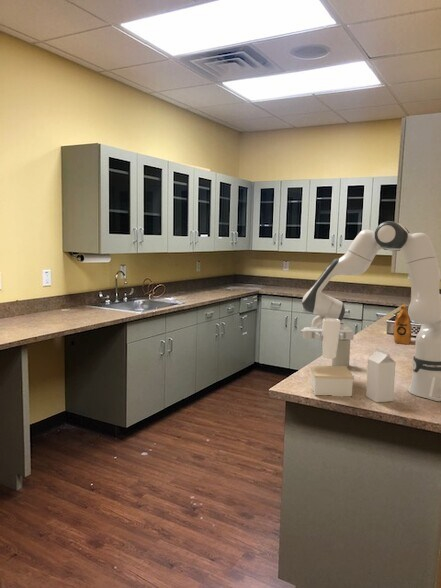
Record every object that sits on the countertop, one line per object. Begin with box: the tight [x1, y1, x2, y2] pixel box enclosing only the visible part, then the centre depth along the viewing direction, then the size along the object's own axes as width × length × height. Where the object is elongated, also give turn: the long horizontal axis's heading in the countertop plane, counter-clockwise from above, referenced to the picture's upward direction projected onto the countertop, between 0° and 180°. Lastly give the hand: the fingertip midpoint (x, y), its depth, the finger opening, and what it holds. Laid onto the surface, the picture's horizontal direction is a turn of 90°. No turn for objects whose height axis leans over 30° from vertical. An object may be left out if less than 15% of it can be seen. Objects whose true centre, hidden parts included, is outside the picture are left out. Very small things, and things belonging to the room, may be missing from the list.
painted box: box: [309, 364, 355, 397], centre depth 185 cm, size 15×15×8 cm
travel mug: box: [331, 340, 351, 368], centre depth 221 cm, size 8×8×18 cm
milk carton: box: [365, 347, 396, 403], centre depth 175 cm, size 7×7×19 cm
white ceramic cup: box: [322, 318, 341, 360], centre depth 183 cm, size 7×7×15 cm
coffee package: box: [393, 303, 412, 345], centre depth 273 cm, size 10×12×22 cm
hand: (330, 337), depth 182 cm, fingers closed on white ceramic cup, 6 cm apart
